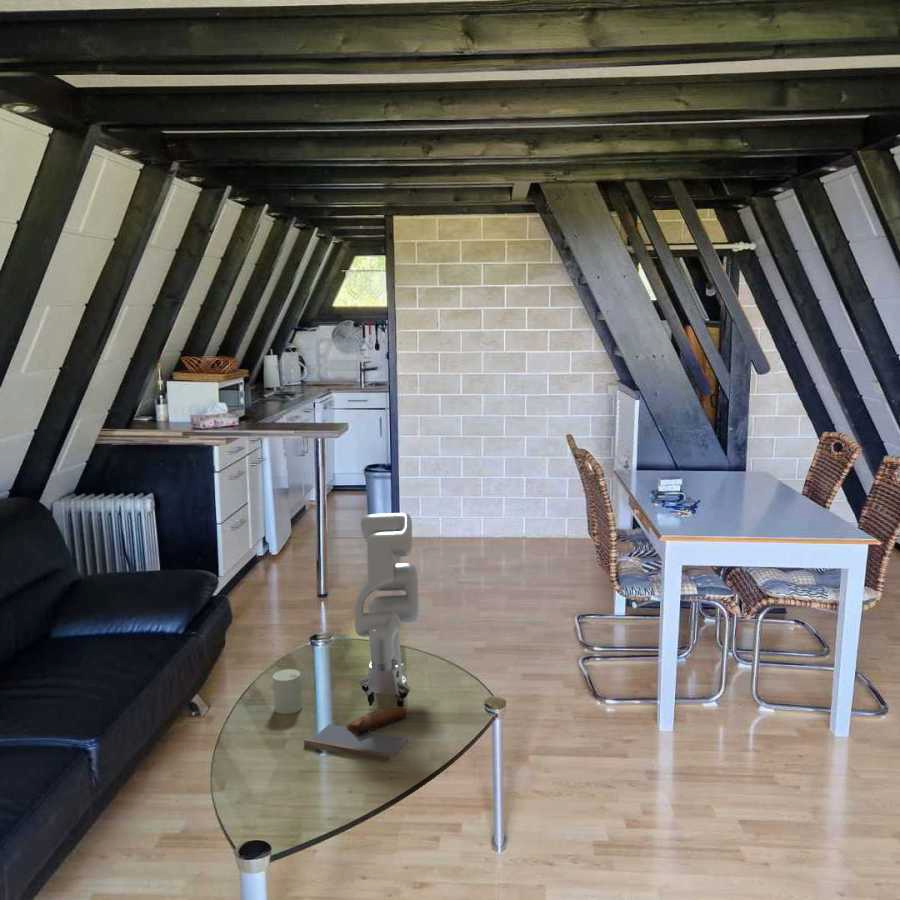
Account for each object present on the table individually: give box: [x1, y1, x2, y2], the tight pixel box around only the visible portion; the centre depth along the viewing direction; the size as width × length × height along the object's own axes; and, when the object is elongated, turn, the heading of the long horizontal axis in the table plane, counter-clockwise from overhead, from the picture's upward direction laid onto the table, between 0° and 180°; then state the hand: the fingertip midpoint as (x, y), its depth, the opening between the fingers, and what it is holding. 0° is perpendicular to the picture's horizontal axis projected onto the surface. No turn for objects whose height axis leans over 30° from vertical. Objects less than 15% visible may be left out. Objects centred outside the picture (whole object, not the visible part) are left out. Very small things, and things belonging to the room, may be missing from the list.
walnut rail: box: [303, 737, 391, 763], centre depth 242 cm, size 1×28×2 cm, turn 67°
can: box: [272, 668, 304, 715], centre depth 272 cm, size 9×9×12 cm
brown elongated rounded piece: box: [346, 706, 407, 736], centre depth 259 cm, size 18×7×7 cm, turn 131°
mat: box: [312, 723, 410, 760], centre depth 248 cm, size 13×28×1 cm, turn 67°
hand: (385, 705), depth 267 cm, fingers open, 9 cm apart
